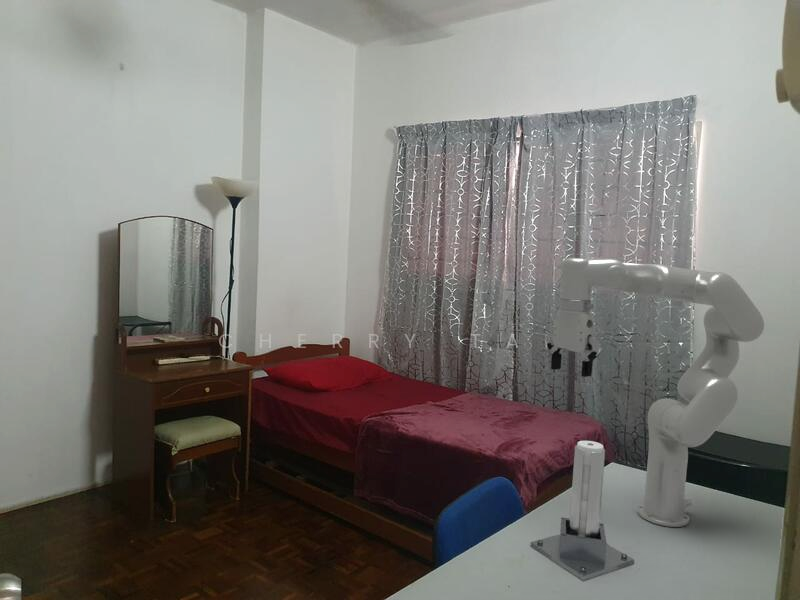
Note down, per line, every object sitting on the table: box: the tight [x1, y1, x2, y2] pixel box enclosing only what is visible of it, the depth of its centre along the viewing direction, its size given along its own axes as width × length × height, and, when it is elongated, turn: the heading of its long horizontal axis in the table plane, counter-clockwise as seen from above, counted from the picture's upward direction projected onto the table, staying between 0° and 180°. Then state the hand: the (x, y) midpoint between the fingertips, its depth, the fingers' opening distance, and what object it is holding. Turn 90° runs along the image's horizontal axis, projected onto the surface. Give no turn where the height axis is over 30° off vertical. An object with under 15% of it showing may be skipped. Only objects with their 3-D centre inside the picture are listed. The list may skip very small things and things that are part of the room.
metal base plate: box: [530, 517, 635, 582], centre depth 133 cm, size 16×16×6 cm
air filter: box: [569, 440, 606, 539], centre depth 133 cm, size 6×6×25 cm
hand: (570, 372), depth 150 cm, fingers open, 9 cm apart
